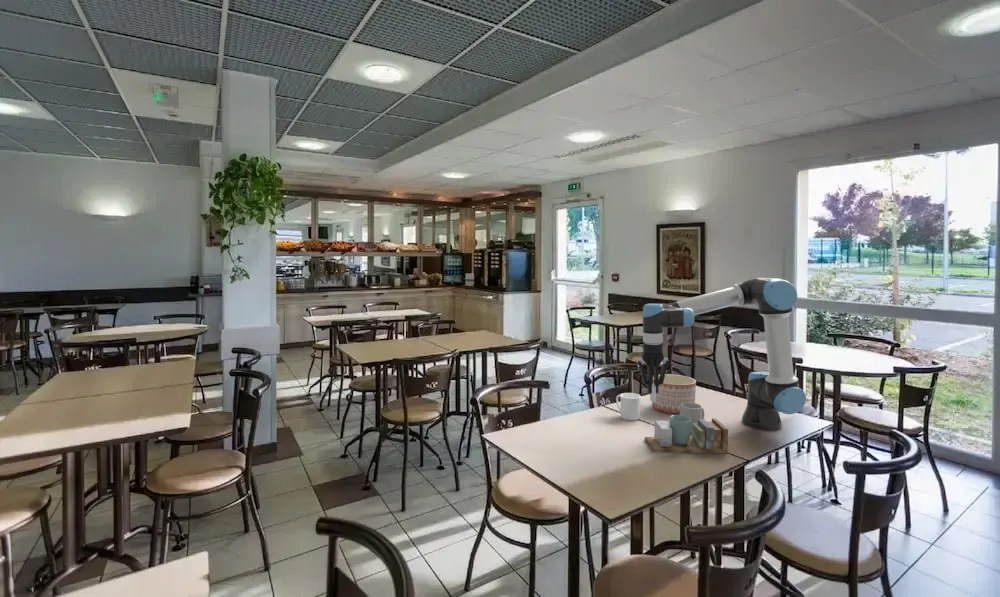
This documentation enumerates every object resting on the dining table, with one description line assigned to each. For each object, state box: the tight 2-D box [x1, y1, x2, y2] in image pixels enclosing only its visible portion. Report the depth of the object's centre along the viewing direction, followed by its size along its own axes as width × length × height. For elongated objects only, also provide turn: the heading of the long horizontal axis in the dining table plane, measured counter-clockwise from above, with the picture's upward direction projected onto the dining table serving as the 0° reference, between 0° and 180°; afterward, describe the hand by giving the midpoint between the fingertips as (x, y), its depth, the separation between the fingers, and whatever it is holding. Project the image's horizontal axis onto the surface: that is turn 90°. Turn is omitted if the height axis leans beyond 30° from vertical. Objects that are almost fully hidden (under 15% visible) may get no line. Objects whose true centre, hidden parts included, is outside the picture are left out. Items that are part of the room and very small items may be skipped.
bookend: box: [653, 420, 672, 447], centre depth 189 cm, size 4×9×7 cm, turn 178°
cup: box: [668, 414, 692, 445], centre depth 189 cm, size 8×8×10 cm
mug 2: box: [680, 402, 705, 435], centre depth 206 cm, size 12×8×11 cm
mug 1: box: [615, 392, 642, 422], centre depth 221 cm, size 11×9×10 cm
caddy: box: [644, 417, 729, 454], centre depth 189 cm, size 28×12×9 cm, turn 88°
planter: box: [651, 373, 697, 416], centre depth 232 cm, size 19×19×15 cm
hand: (653, 401), depth 195 cm, fingers closed
